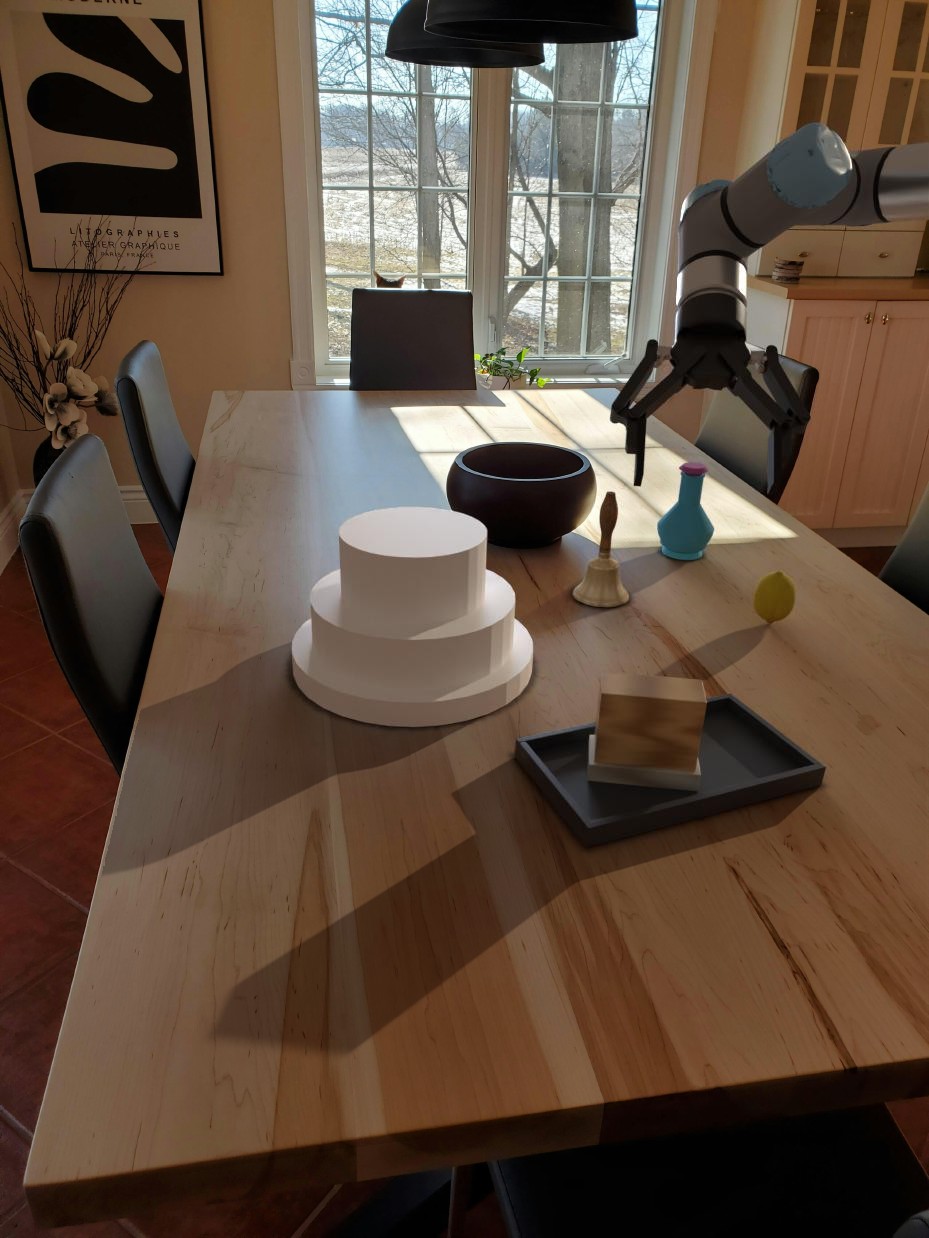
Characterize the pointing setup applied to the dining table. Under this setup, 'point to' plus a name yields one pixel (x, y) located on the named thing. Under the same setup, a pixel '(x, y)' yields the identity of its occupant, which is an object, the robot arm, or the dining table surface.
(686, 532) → the perfume bottle
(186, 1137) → the dining table surface
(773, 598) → the lemon
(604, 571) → the hand bell
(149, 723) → the dining table surface
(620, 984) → the dining table surface
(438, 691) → the cake
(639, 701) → the eraser
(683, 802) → the tray
